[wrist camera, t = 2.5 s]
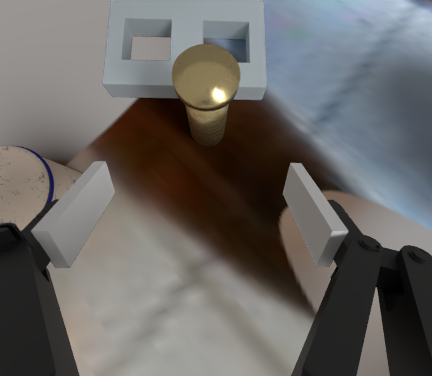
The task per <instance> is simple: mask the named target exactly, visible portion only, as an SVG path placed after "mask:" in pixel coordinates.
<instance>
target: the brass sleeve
mask: <svg viewBox="0 0 432 376" xmlns="http://www.w3.org/2000/svg"><path fill="white" fill-rule="evenodd" d="M172 81H173V85H174V89H175V92H176V94H177V96H178V97H179V99H180V100H181V101H182V102H183V103H184V104H185V106H186V111H187V116H188V120H189V125H190V130H191V135H192V137H193V139H194V141H195V142H196V143H198V144H199V145H202V146H206V147H210V146H214V145H216V144H218V143H219V142H220V141H221V139H222V138H223V135H224V130H225V124H226V117H227V111H228V104H229V103H230V102H231V101H232V100H233V99H234V97H235V95H236V94H237V91H238V87H239V82H240V68H239V65H238V63H237V61H236V59H235V58H234V56H233V55H232V54H231V53H230V52H228V51H227V50H225V49H224V48H222V47H220V46H217V45H212V44H199V45H195V46H192V47H189V48H188V49H186V50H184V51H183V52H182V53H181V54H180V55H179V56H178V57H177V59H176V60H175V62H174V64H173V68H172Z"/></svg>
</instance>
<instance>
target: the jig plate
mask: <svg viewBox="0 0 432 376" xmlns="http://www.w3.org/2000/svg"><path fill="white" fill-rule="evenodd" d="M132 36H142V37H171V51H170V61H157V60H155V61H154V60H131V47H132ZM204 38H213V39H246V63H238V65H239V68H240V82H239V87H238V91H237V94H236V95H235V97H234V99H237V100H262V98H263V95H264V93H265V91H266V88H267V79H266V53H265V26H264V1H262V0H111V4H110V15H109V24H108V33H107V43H106V53H105V63H104V73H103V83H102V84H103V85H104V87H105V88H106V89H107V90H108V92H109V93H110V94H111V96H112V97H138V98H179V97H178V96H177V94H176V92H175V89H174V85H173V81H172V68H173V64H174V62H175V60H176V59H177V57H178V56H179V55H180V54H181V53H182V52H183V51H184V50H186V49H188V48H189V47H192V46H195V45H199V44H203V42H204Z"/></svg>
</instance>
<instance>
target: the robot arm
mask: <svg viewBox="0 0 432 376" xmlns="http://www.w3.org/2000/svg"><path fill="white" fill-rule="evenodd" d="M114 194H115V190H114V187H113V184H112V181H111V177H110V174H109V171H108V168H107V164H106V161H94V162H93V163H92V164H91V166H90V167H89V168H88V169H87V170H86V171H85V172H84V173H83V174H82V175H81V177H80V178H79V179H78V180H77V181H76V182H75V183H74V184H73V185H72V186H71V187H70V189H69V190H68V191H67V192H66V193H65V194H64V195H63V196H62V197H61V198H60V199H55V200H54V201H52V202H50V203H49V204H47V205H46V206H45V207H44V208H43V209H42V210H41V212H39V213H38V214H37V215H36V218H34V219H33V220H32V221H31V222H30V223H29V224H28V225H27V226H26V227H25V228H24V229H23V230H22V231H20V230H19V228H18V227H17V225H16V224H15V223H11V222H10V223H2V224H0V376H79V373H78V369H77V366H76V362H75V359H74V356H73V352H72V349H71V345H70V342H69V339H68V335H67V332H66V328H65V325H64V321H63V318H62V315H61V311H60V308H59V304H58V301H57V298H56V294H55V291H54V287H53V284H52V280H51V277H50V274H49V271H48V269H47V268H46V267H47V265H48V264H49V262H50V261H51V262H52V264H53V265H54V267H55V268H70V267H71V266H72V264H73V262H74V261H75V259H76V257H77V256H78V254H79V252H80V251H81V249H82V247H83V246H84V244H85V242H86V241H87V239H88V237H89V236H90V234H91V232H92V231H93V229H94V227H95V226H96V224H97V222H98V221H99V219H100V217H101V216H102V214H103V212H104V211H105V209H106V207H107V206H108V204H109V202H110V201H111V199H112V197H113V196H114ZM283 195H284V197H285V200H286V202H287V204H288V206H289V209H290V211H291V213H292V215H293V217H294V220H295V222H296V224H297V226H298V228H299V230H300V233H301V235H302V237H303V239H304V242H305V244H306V246H307V248H308V250H309V253H310V255H311V257H312V259H313V261H314V264H315V266H316V267H330V265H331V263H332V261H333V260H334V261H335V263H336V265H337V267H336V269H335V270H334V272H333V274H332V276H331V280H330V283H329V285H328V288H327V290H326V293H325V295H324V297H323V300H322V302H321V305H320V307H319V310H318V312H317V314H316V317H315V319H314V322H313V324H312V326H311V329H310V331H309V334H308V336H307V339H306V341H305V343H304V346H303V348H302V351H301V353H300V356H299V358H298V360H297V363H296V365H295V368H294V370H293V373H292V375H291V376H356V375H357V370H358V365H359V361H360V356H361V352H362V347H363V343H364V338H365V333H366V329H367V324H368V320H369V315H370V311H371V306H372V302H373V297H374V292H375V288H376V287H377V289H378V296H379V303H380V310H381V317H382V324H383V331H384V338H385V345H386V352H387V359H388V366H389V373H390V376H432V256H431V255H430V254H429V253H427V252H426V251H424V250H422V249H420V248H418V247H415V246H410V245H408V246H404V247H402V248H401V250H400V251H396V250H392V249H387V248H383V247H382V246H381V244H380V243H379V242H377V241H376V240H375V239H373V238H371V237H369V236H366V235H363V234H362V233H361V231H360V230H359V229H358V227H357V226H356V225H355V224H354V222H353V221H352V220H351V218H349V216H348V214H347V213H345V210H344V209H343V208H342V207H341V205H340V204H338V203H337V202H335V201H334V200H326V198H325V197H324V195H323V194H322V193H321V191H320V190H319V188H318V187H317V185H316V184H315V183H314V181H313V180H312V178H311V177H310V175H309V174H308V173H307V171H306V170H305V168H304V167H303V165H302V164H301V163H290V167H289V171H288V175H287V179H286V183H285V187H284V191H283Z"/></svg>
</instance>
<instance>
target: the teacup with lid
mask: <svg viewBox="0 0 432 376" xmlns="http://www.w3.org/2000/svg"><path fill="white" fill-rule="evenodd" d="M81 175H82V174H81V173H80V172H78V171H75V170H73V169H70V168H68V167H65V166H63V165H60V164H58V163H55V162H53V161H50V160H48V159H45V158H43V157H41V156H40V155H38V154H37V153H35V152H34V151H32V150H30V149H27V148H24V147H19V146H0V224H2V223H10V222H11V223H15V224H16V225H17V227H18V228H19V230H20V231H22V230H23V229H24V228H25V227H26V226H27V225H28V224H29V223H30V222H31V221H32V220H33V219H34V218H36V215H37V214H38V213H39V212H41V210H42V209H43V208H44V207H45V206H46V205H47V204H49V203H50V202H52V201H54V200H55V199H60V198H61V197H62V196H63V195H64V194H65V193H66V192H67V191H68V190H69V189H70V187H71V186H72V185H73V184H74V183H75V182H76V181H77V180H78V179H79V178H80V177H81Z"/></svg>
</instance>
